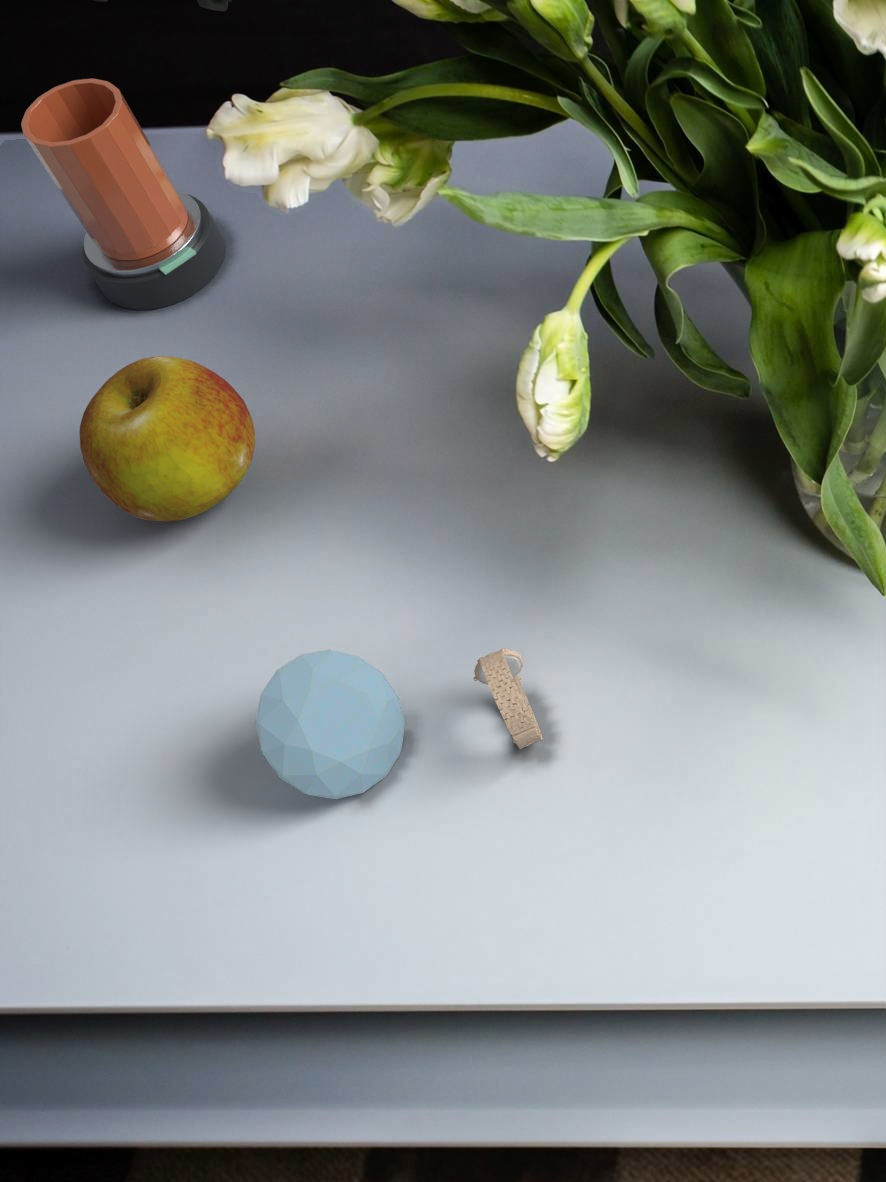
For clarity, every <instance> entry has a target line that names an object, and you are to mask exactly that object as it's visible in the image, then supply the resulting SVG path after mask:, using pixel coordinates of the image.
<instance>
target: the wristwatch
mask: <svg viewBox="0 0 886 1182" xmlns="http://www.w3.org/2000/svg"><path fill="white" fill-rule="evenodd" d="M476 662H477V663H476V664H475V667H474V670H473V671H474V672H473V673H474V677H472V678H473V681H475V682H476V681H478V682H479V683H481V684H483V685H487V686H488V688H489V689H490V692H491V694H492V697H493V700H494V702H495V704H496V706H497V708H498V710H499V713H500V715H501V717H502V719H503V721H504V723H505V725H506V727H507V730H508V732H509V734H510V735H511V737H512V740H511V741H512V742H513V744H514V745H515V744H516V746H517V747H518V749H519V750H522V749H524V748H526V747H529V746H531V745H533V744H536V743H537V742H540V741H543V740H544V739H543V734H542V732H541V729H540V726H539V724H538V721H537V719H536V716H535V714H534V711H533V709H532V706H531V704H530V701H529V700H528V697H527V695H526V693H525V691H524V688H523V686H522V683H521V680H522V676H521V675H519V673H521V671H522V668H523V666H524V660H523V656H522V655H521V654H520V653H519V652H517V651H516V650H512V649H507V647H503V648H500V649H499V650H496V651H493V652H490V653H488V654H486V655H485V656H481V657H479V658H478V659H477V660H476ZM518 675H519V676H518Z"/></svg>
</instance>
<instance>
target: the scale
mask: <svg viewBox="0 0 886 1182" xmlns="http://www.w3.org/2000/svg"><path fill="white" fill-rule="evenodd" d="M177 191H178V193H179V195H180V196H181V198H182V201H183V203H184V205H185V207H186V209H187V212H188V221H187V225H186V227H185V229H184V231H183V233H182V234H181V235H180V237H179V238H178V239H177V240H176V241H175V242H174V243H172V244H171V245H170V246H169V247H167V248H166V249H164V250H162V251H160V252H159V253H157V254H154V255H152V256H149V257H146V258H142V259H138V260H128V261H125V260H116V259H113V258H110V257H108V256H106V255H105V254H103V253H102V252H101V251H100V250H99V248H98V247H97V245H96V244H95V243H94V242H93V241H92V239H91V238H90V236H89V235H88V233H87V232H86V231H85V236H84V238H83V245H82V251H81V252H82V261H83V263H84V266H85V267H86V269H87V271H88V272H89V273H90V275H91V277H92V278H93V281H95V283H96V284H97V286H98V287H99V289H100V290H101V292H102V293H103V295H104V296H105V297H106V298H107V299H108V300H109V301H110V302H112V303H113V304H115V305H117V306H119V307H122V308H124V309H128V310H130V309H131V310H134V311H135V310H136V311H137V310H139V311H147V310H149V311H150V310H155V309H156V310H157V309H160V308H165V307H169V306H172V305H175V304H178V303H180V302H182V301H184V300H186V299H188V298H191V297H192V296H193V295H195V294H196V293H198V292H200V291H201V290H202V289H203V288H205V287H206V286H207V285H208V284H209V283H210V282H212V280H213V279H214V278H215V276H216V275H217V274H218V272H219V271H220V269H221V268H222V266H223V264H224V261H225V258H226V250H227V249H226V242H225V241H226V240H225V238H224V236H223V234H222V232H221V231H220V229H219V227H218V225H217V223H216V221H215V219H214V218H213V216H212V215H211V212H210V211H209V209H208V207H207V206H206V205H205V204H204V202H202V201H201V200H200V199H198V198H197V197H195V196H193V195H191V194H188V193H185V192H183V191H181V190H178V189H177Z"/></svg>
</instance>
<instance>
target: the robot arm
mask: <svg viewBox="0 0 886 1182" xmlns="http://www.w3.org/2000/svg"><path fill="white" fill-rule="evenodd" d="M196 1H197V4H198V5H199V7H201V8H204V9H207V10H211V11H216V12H227V10H228V8H229V2H232V1H233V0H196ZM93 2H101V3H102V2H103V3H107V2H109V0H93Z"/></svg>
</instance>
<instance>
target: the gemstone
mask: <svg viewBox="0 0 886 1182" xmlns="http://www.w3.org/2000/svg"><path fill="white" fill-rule="evenodd" d="M405 728H406V722H405V717H404V714H403V709H402V704H401V700H400V697H399V695H398V693H397V692H396V691H395V689H394V688H393V686H392V685H391V683H390V682H389V680H388V679H387V677H386V676H385V674H384V673H383V672H382V671H381V670H379V669H378V668H376V667H375V666H374V665H372V664H371V663H369V662H368V661H366V660H365V659H363V658H362V657H360V656H358V655H356V654H350V653H347V652H342V651H337V650H334V649H326V650H319V651H313V652H307V653H302V654H299V655H298V656H296V657H295V658H293V659H292V660H290V661H288V662H287V663H285V664H284V665H282V666H281V667H279V668H278V669H276V671H275V672H274V674H273V675H272V676H271V677H270V679H269V680H268V681H267V684H266V686H265V687H264V688H263V690H262V691H261V693H260V695H259V701H258V706H257V712H256V718H255V729H256V732H257V737H258V741H259V745H260V750H261V753H262V755H263V756H264V757H265V759H266V761H267V762H268V763H269V765H270V766H271V768H272V769H273V771H274V772H275V773H276V775H277V776H278V778H279V779H281V780H283V781H284V782H285V783H287V784H289V785H290V786H292V787H293V788H295V789H297V790H299V791H300V792H302V793H303V794H304V795H308V796H315V797H319V798H320V797H321V798H326V799H331V800H337V799H343V798H347V797H350V796H351V797H352V796H355V795H360V794H361V795H362V794H364V793H365V792H367V791H368V790H369V789H371V788H372V787H374V786H375V785H377V784H378V783H379V782H380V781H382V780H383V779H385V778H386V777H387V776H388V774H389V772H390V771H391V769H392V768H393V766H394V764H395V763H396V761H397V759H398V758H399V756H400V755H401V753H402V747H403V741H404V735H405Z"/></svg>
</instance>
